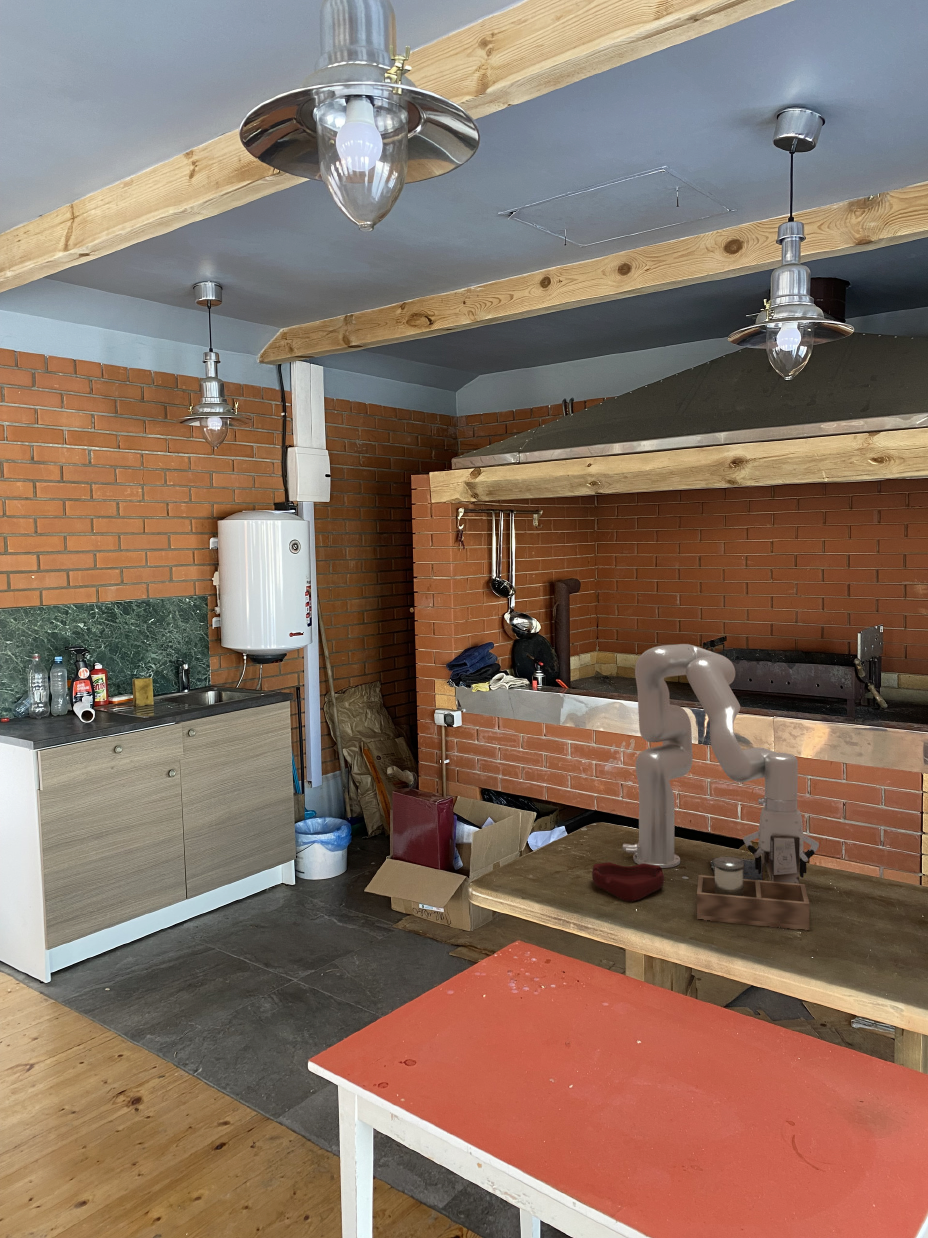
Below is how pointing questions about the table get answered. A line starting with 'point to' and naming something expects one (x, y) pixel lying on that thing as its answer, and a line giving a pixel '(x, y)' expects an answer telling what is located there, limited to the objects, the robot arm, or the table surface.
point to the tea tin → (729, 876)
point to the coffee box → (781, 860)
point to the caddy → (755, 904)
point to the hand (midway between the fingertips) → (780, 874)
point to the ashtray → (628, 879)
